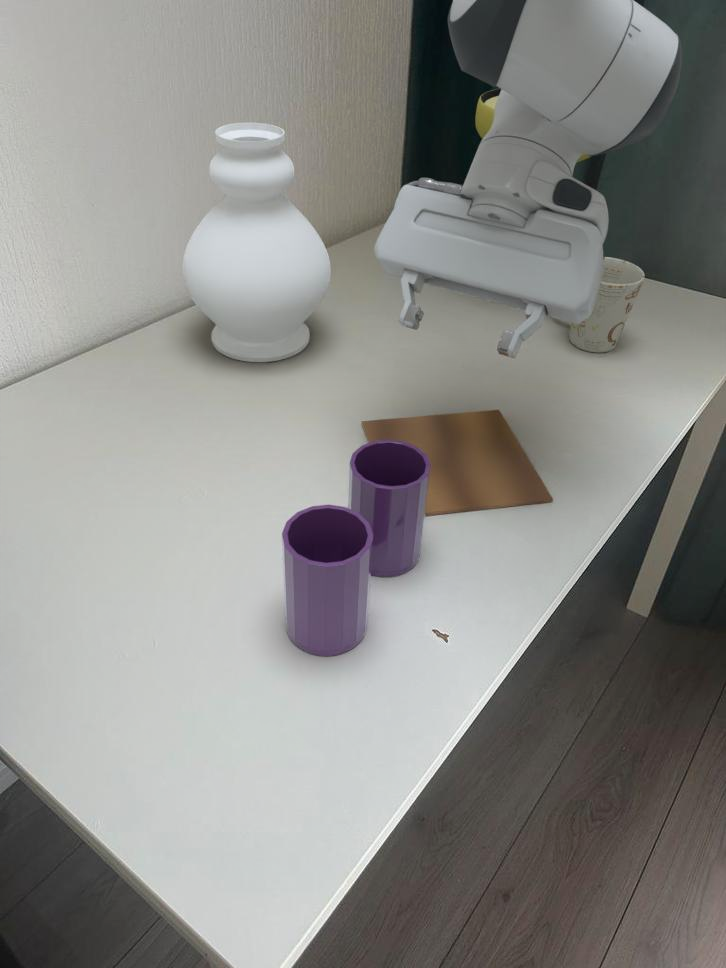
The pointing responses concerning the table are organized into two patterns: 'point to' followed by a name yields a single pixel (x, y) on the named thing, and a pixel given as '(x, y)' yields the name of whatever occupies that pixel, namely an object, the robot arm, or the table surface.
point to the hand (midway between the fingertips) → (455, 339)
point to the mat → (467, 460)
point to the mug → (609, 307)
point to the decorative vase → (255, 251)
